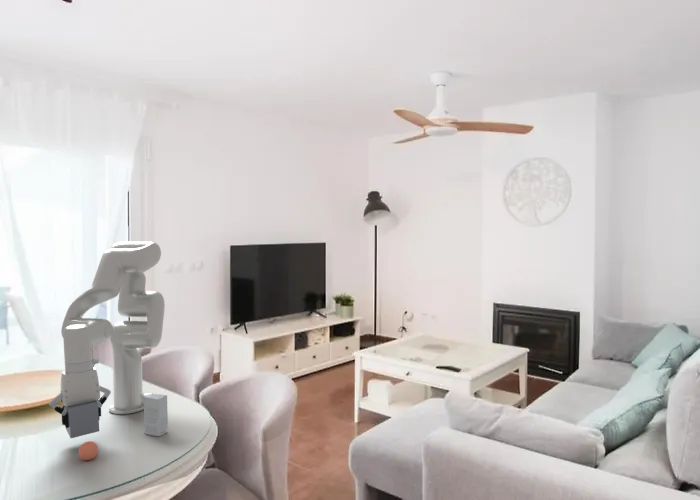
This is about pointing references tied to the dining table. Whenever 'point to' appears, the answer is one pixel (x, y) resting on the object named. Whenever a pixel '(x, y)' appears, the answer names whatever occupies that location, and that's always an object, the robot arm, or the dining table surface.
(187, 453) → the dining table surface
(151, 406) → the skincare box
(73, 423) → the grey matte cube
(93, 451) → the ball
